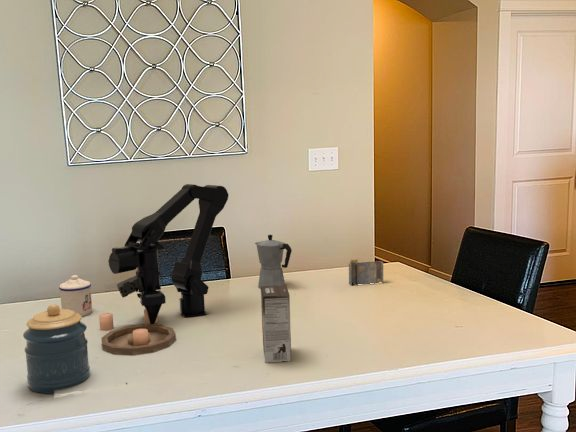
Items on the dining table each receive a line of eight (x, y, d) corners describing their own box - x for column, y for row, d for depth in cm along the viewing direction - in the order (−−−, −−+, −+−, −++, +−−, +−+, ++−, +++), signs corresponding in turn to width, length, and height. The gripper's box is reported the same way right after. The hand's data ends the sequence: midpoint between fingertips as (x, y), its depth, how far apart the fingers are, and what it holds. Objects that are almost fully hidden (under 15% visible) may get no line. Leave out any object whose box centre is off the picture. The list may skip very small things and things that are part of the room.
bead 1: (113, 328, 175) (112, 312, 174) (114, 332, 171) (113, 316, 171) (99, 329, 174) (98, 314, 173) (100, 333, 170) (99, 317, 170)
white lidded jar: (89, 317, 185) (86, 278, 184) (57, 319, 184) (54, 280, 183) (97, 305, 197) (95, 269, 195) (67, 307, 196) (65, 270, 194)
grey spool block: (351, 287, 212) (350, 259, 210) (349, 285, 215) (348, 257, 213) (383, 285, 214) (383, 257, 212) (381, 282, 217) (380, 255, 215)
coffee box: (262, 349, 155) (260, 285, 153) (288, 347, 156) (286, 284, 153) (264, 363, 146) (261, 295, 144) (292, 361, 147) (290, 294, 144)
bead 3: (157, 322, 179) (156, 307, 178) (158, 326, 175) (157, 310, 175) (144, 324, 177) (143, 308, 177) (145, 328, 174) (144, 312, 173)
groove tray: (169, 329, 172) (168, 320, 172) (180, 351, 155) (180, 341, 155) (100, 338, 166) (99, 329, 166) (104, 362, 149) (103, 351, 149)
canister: (90, 389, 134) (83, 309, 132) (24, 398, 131) (17, 316, 128) (90, 367, 147) (85, 293, 144) (31, 375, 143) (24, 299, 140)
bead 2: (147, 345, 158) (146, 327, 157) (149, 349, 155) (148, 332, 154) (133, 347, 157) (132, 329, 156) (134, 351, 153) (133, 334, 153)
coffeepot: (248, 287, 214) (246, 235, 212) (266, 281, 221) (264, 230, 219) (283, 293, 205) (281, 239, 202) (300, 287, 212) (299, 234, 209)
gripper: (115, 263, 180) (118, 316, 182) (120, 277, 163) (124, 335, 165) (154, 259, 184) (157, 311, 186) (164, 273, 166) (167, 330, 168)
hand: (151, 321), depth 176 cm, fingers open, 4 cm apart
